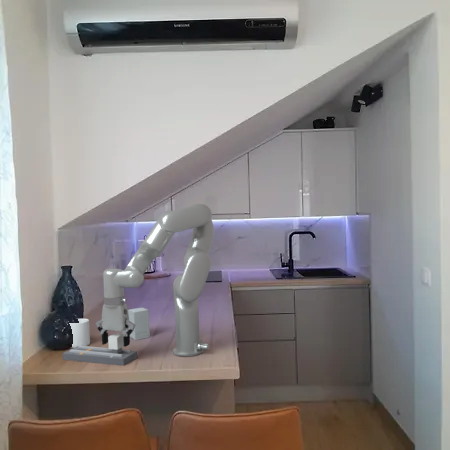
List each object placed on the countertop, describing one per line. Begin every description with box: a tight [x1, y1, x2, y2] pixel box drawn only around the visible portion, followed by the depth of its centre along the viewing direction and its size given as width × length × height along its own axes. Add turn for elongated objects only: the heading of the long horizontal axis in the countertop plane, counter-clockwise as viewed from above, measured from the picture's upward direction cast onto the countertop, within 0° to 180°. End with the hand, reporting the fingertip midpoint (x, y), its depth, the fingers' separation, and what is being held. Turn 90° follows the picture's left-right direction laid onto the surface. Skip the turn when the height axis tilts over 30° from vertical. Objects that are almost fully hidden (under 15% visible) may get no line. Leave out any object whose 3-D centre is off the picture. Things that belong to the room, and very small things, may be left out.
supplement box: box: [128, 307, 151, 341], centre depth 216 cm, size 7×7×13 cm
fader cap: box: [107, 332, 125, 354], centre depth 185 cm, size 4×5×7 cm
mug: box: [69, 318, 91, 349], centre depth 206 cm, size 9×12×11 cm
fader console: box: [62, 345, 138, 366], centre depth 188 cm, size 28×10×3 cm, turn 69°
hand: (115, 344), depth 185 cm, fingers open, 9 cm apart
